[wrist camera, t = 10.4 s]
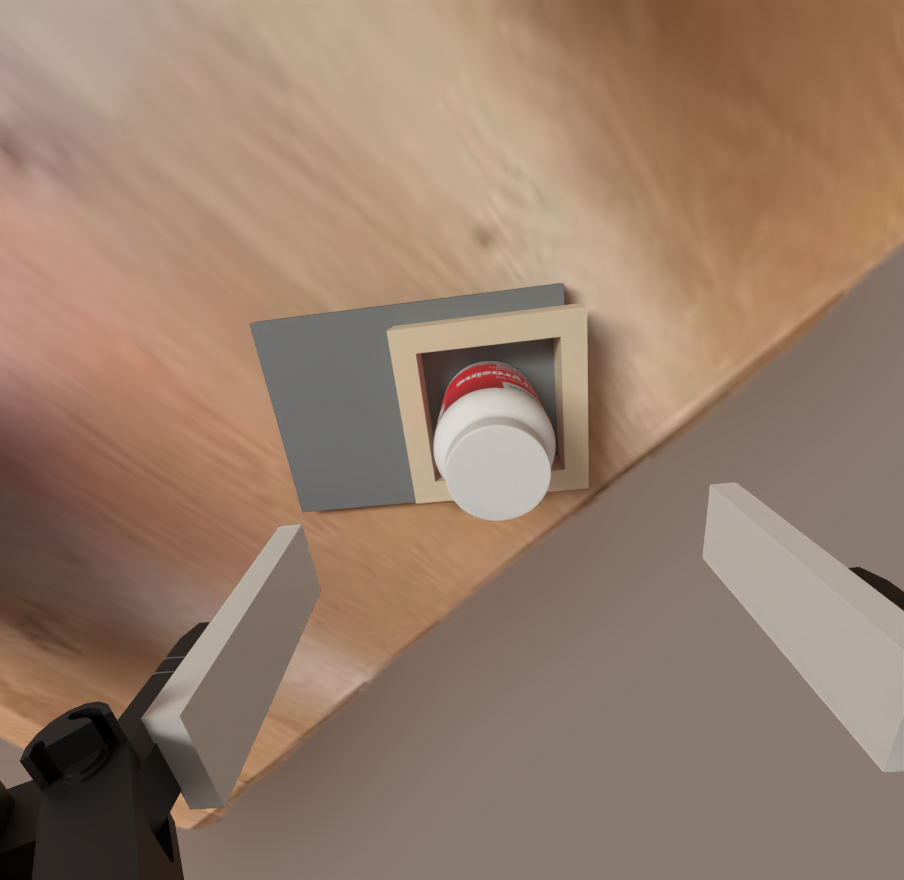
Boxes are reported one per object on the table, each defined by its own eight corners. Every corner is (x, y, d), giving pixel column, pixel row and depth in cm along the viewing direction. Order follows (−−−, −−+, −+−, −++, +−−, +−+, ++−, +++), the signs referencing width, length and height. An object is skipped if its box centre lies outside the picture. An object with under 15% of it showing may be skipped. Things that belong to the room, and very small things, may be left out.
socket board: (308, 504, 34) (289, 530, 30) (258, 321, 29) (229, 328, 25) (576, 480, 32) (589, 505, 29) (572, 281, 27) (586, 283, 24)
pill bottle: (544, 367, 28) (587, 422, 18) (523, 453, 30) (550, 546, 20) (450, 351, 28) (438, 396, 18) (436, 438, 30) (418, 524, 20)
